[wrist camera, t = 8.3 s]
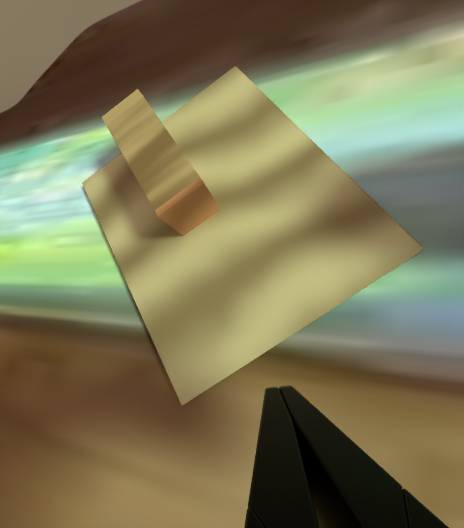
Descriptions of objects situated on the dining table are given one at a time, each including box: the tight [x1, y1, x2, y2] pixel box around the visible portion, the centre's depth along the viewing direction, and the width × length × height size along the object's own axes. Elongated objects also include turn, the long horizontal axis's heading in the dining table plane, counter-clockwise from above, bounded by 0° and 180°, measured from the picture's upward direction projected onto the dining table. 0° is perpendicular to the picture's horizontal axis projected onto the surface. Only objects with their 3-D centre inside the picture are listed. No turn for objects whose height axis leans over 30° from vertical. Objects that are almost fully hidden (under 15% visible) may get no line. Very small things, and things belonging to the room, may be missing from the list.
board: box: [82, 66, 424, 405], centre depth 20 cm, size 24×20×1 cm
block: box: [102, 89, 221, 236], centre depth 19 cm, size 4×4×12 cm
